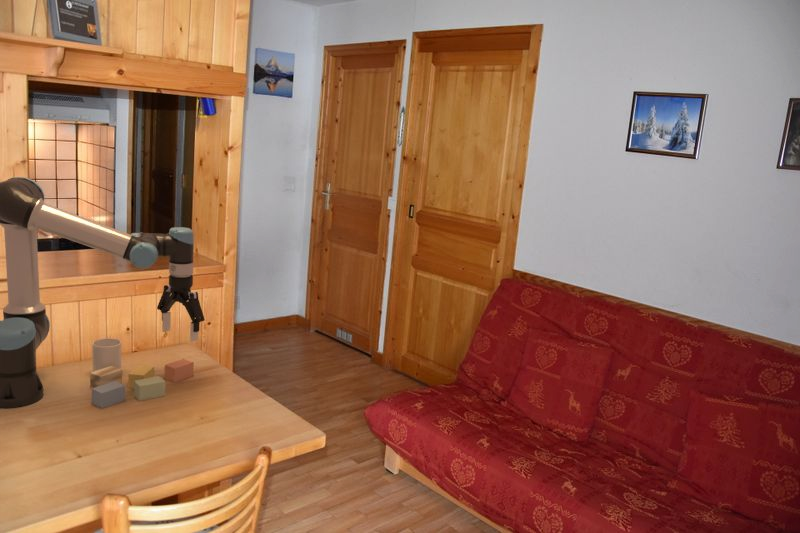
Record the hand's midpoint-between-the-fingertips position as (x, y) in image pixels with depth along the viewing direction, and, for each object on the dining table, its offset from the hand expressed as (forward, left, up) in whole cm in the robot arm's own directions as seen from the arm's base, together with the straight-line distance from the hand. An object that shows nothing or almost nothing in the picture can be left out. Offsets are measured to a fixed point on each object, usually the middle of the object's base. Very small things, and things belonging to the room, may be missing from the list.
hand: (180, 335), depth 220 cm
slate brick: (0, -27, -15) cm, 31 cm away
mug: (-20, -13, -15) cm, 28 cm away
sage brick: (+5, -16, -15) cm, 22 cm away
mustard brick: (-4, -12, -15) cm, 20 cm away
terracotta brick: (0, 0, -15) cm, 15 cm away
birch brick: (-11, -20, -15) cm, 27 cm away
